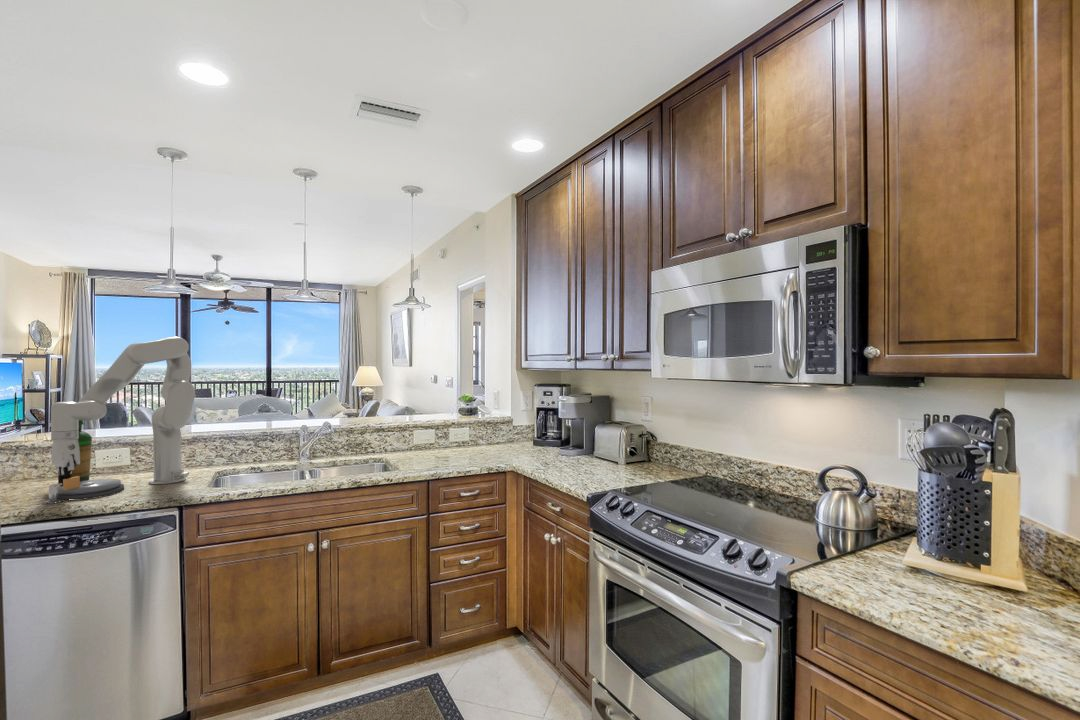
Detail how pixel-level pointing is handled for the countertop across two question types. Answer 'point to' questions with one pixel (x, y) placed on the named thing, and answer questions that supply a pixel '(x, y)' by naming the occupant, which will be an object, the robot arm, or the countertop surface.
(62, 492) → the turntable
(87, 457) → the bottle
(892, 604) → the countertop surface
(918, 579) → the countertop surface
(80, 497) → the turntable base
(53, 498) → the capsule on square base
